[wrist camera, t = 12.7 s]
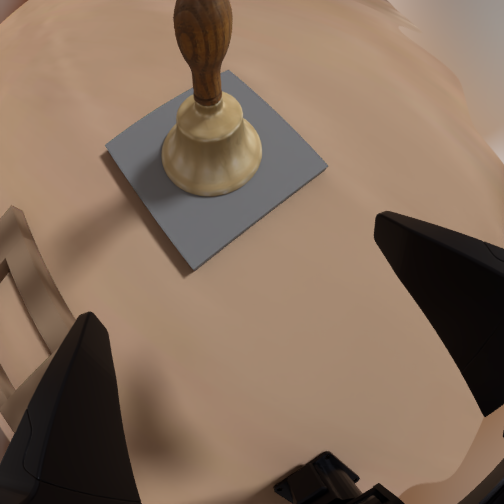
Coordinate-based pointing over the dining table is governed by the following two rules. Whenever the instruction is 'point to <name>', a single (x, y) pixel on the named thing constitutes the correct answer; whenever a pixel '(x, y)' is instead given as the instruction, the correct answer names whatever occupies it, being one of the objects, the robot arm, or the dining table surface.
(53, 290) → the walnut well board
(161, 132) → the grey rubber mat
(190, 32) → the hand bell
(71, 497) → the robot arm
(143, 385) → the dining table surface
